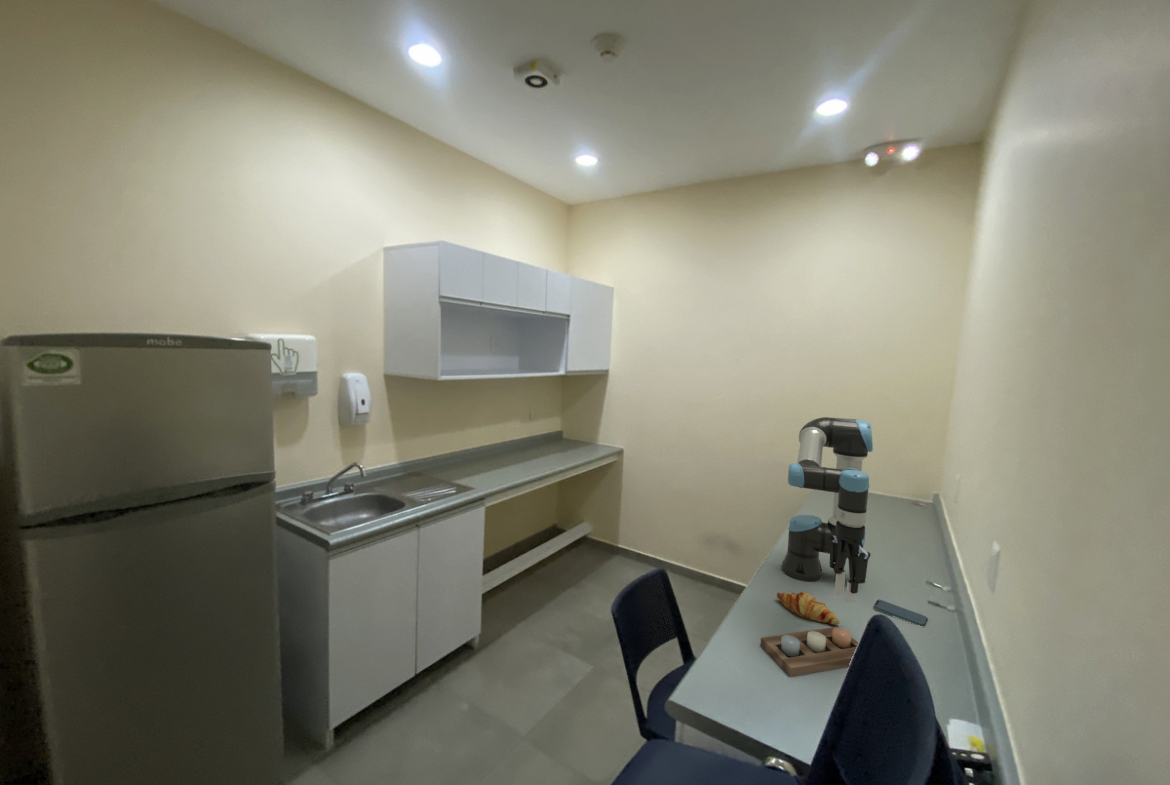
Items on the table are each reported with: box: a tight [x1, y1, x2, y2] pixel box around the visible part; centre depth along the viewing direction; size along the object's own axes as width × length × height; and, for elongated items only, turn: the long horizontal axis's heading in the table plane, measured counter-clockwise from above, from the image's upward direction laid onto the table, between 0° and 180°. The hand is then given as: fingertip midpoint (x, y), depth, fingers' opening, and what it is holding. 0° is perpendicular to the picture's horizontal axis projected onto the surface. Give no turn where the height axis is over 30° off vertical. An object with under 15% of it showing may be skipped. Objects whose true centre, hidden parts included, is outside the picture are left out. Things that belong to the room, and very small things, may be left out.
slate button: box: [781, 635, 800, 658], centre depth 138 cm, size 5×5×4 cm
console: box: [760, 625, 858, 678], centre depth 140 cm, size 14×28×2 cm, turn 104°
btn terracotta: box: [832, 627, 852, 649], centre depth 142 cm, size 5×5×4 cm
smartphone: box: [872, 599, 929, 627], centre depth 162 cm, size 8×2×15 cm
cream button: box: [807, 631, 826, 653], centre depth 140 cm, size 5×5×4 cm
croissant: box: [776, 591, 841, 626], centre depth 162 cm, size 21×10×8 cm, turn 44°
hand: (844, 597), depth 141 cm, fingers open, 4 cm apart
